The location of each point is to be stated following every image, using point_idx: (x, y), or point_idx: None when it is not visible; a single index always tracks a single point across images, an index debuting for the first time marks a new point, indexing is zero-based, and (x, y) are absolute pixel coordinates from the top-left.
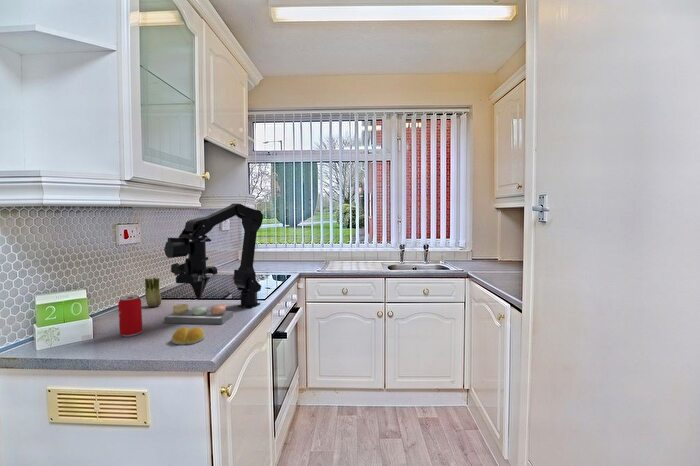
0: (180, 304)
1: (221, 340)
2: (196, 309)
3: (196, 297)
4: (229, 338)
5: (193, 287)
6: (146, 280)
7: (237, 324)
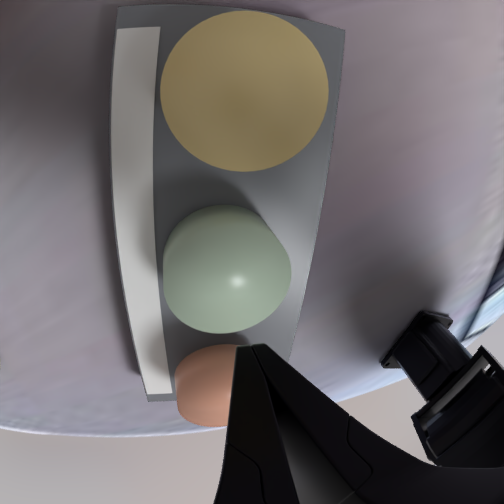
0: (307, 64)
1: (12, 414)
2: (180, 285)
3: (236, 351)
4: (34, 426)
5: (221, 491)
6: None
7: (160, 416)
